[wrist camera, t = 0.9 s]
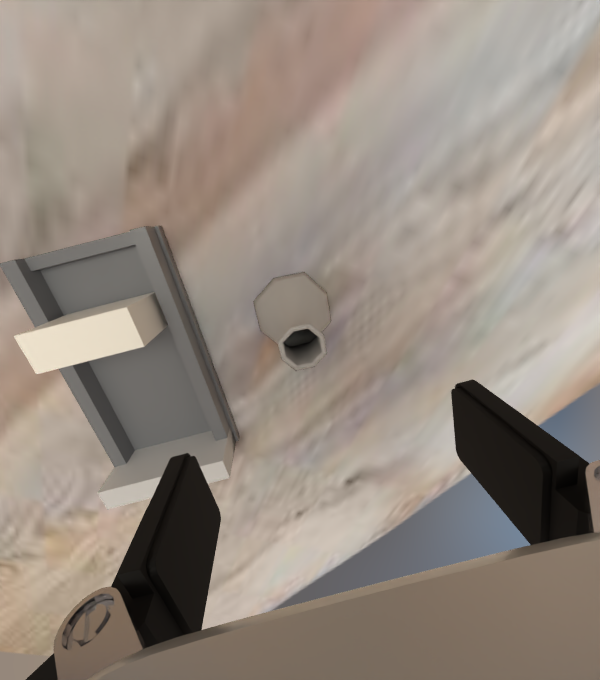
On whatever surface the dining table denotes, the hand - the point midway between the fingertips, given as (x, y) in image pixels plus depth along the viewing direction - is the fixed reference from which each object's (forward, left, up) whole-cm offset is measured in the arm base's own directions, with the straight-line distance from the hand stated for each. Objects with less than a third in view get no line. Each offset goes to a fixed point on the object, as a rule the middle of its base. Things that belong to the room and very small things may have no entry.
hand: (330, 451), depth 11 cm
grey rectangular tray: (+1, -15, -20) cm, 25 cm away
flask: (0, 0, -20) cm, 20 cm away
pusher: (-4, -15, -19) cm, 24 cm away
